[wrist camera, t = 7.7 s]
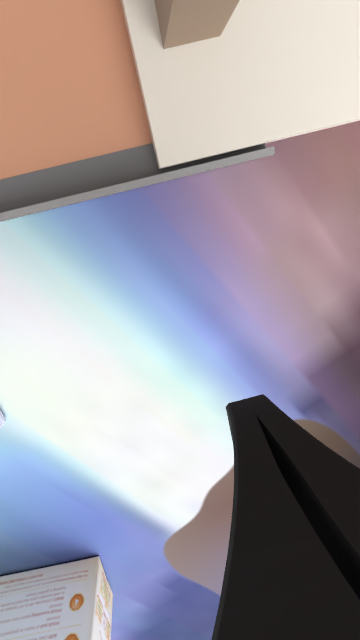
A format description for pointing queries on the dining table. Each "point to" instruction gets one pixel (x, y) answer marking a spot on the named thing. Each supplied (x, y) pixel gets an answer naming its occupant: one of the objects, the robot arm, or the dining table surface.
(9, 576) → the coffeecake box
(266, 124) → the cover
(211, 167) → the box
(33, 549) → the dining table surface
